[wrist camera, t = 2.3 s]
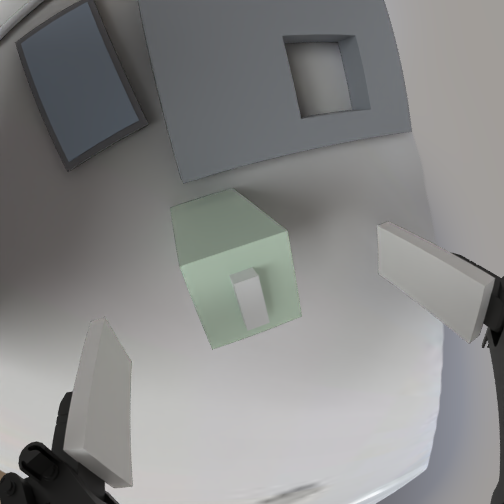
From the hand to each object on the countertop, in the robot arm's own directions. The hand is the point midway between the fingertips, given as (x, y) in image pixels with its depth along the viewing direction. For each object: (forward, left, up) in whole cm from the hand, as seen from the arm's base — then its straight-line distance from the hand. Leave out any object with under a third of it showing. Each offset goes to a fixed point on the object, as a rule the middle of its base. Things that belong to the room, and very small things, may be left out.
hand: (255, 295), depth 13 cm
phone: (-6, +13, -9) cm, 17 cm away
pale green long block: (0, 0, -9) cm, 9 cm away
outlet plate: (+8, +11, -9) cm, 17 cm away
